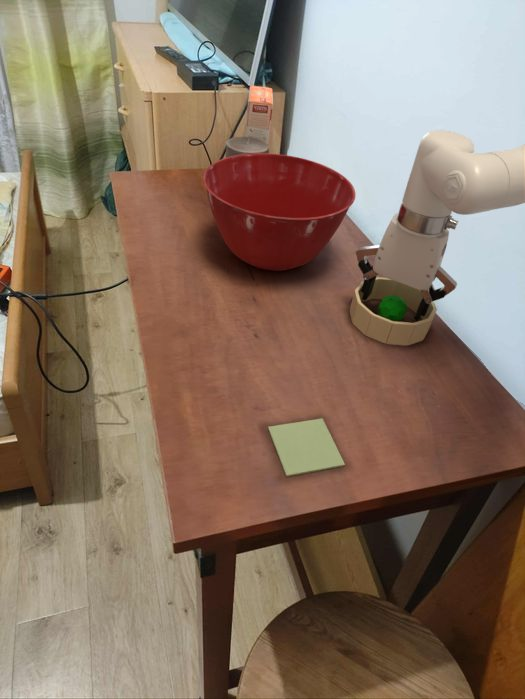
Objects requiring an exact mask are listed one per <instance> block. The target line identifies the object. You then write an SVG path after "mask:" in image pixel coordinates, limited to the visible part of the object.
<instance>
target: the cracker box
mask: <svg viewBox="0 0 525 699" xmlns="http://www.w3.org/2000/svg"><path fill="white" fill-rule="evenodd" d="M246 106H247V107H246V116H245V117H246V118H245V128H244V137H251V138H256V139H260V140H262V141H264V142H266V143H267V144H268V145H269V140H270V132H271V123H272V116H273V107H274V98H273V88H271V87H268V86H256V85H249V91H248V98H247V105H246Z"/></svg>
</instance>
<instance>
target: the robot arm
mask: <svg viewBox="0 0 525 699" xmlns="http://www.w3.org/2000/svg"><path fill="white" fill-rule="evenodd" d="M402 196H403V197H402V200H401V203H400V206H399V209H398V212H396V213H395V214H394V215H393V216H392V218H391V220H390V221H389V223H388V226H387V227H386V229H385V232H384V233H383V235H382V239H381V241H380V244H377V245H367V246H359V247H358V248H357V249H356V250H355V255H356V260H357V262H358V263H357V266H358V268H359V271H361V273H362V278H363V281H364V283H363V286H362V290H361V292H363V293H364V294H363V297H362V299H363V300H367V298H368V297H369V296H370V294H371V292H372V289H373V286H374V283H375V280H376V277H377V276H380V277H382V278H388V279H391V280H393V281H396V282H399V283H401V284H404V285H407V286H409V287H412V288H415V289H418V290H420V291H421V293H422V296H423V299H422V300H421V302H420V304H419V307H418V310H417V312H416V313H415V314H414V317H413V320H414V321H415V322H418V321H420V320H419V319H421V317H420V316H421V315H422V316H425V315H426V312H427V310H428V308H429V305H430V303H432V302H436V301H438V300H441V299H444V298H445V297H446V296H447V295H449V294H450V293H452V292H453V291H455V289H456V288H457V286H458V283H457V280H455V279H454V278H453V277H452V276H451V275H450V274H449V273H448V272H447V271H446V270H445V269H444V268H443V267H442V266H441V265H442V262H443V259H444V257H445V253H446V249H447V246H448V242H449V235H450V229H451V230H456V229H457V227H458V224H459V220H456V219H455V218H454V217H453V215H452V214H453V213H455V214H457V215H463V216H469V215H476V214H482V213H485V212H491V211H494V210H498V209H505V208H511V207H516V206H519V205H522V204H525V144H522V145H520V146H517V147H515V148H513V149H506V150H505V149H504V150H497V151H489V152H488V151H487V152H475V145H474V142H473V141H472V140H471V139H470V138H468V137H467V136H465V135H463V134H461V133H457V132H455V131H451V130H445V129H438V130H436V129H435V130H431V131H428V132H426V133H425V134H424V135H423V136H422V138H421V139H420V142H419V144H418V149H417V151H416V154H415V158H414V161H413V164H412V168H411V171H410V173H409V177H408V180H407V184H406V186H405V190H404V193H403V195H402ZM367 256H374V258H373V264H372V265H371V263H370V262H369V260H368V257H367ZM436 279H437V280H439V281H440V283H442V284H443V286H442V287H439V288H437V289H435V287H434V284H433V282H434V281H435V280H436ZM367 301H368V300H367Z"/></svg>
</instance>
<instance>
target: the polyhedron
mask: <svg viewBox="0 0 525 699" xmlns="http://www.w3.org/2000/svg"><path fill="white" fill-rule="evenodd" d="M407 312H408V307H407V305H406V303H405V301H404V300H403V299H402V298H401V297H399V296H393V295H389V296H386V297H384V298H383V299H381V301H380V302H379V304H378V306H377V315H379V316H381V317H384V318H386V319H389V320H391V321H395V322H402V321H403V319H404V317H405V316H406V314H407Z"/></svg>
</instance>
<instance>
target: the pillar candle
mask: <svg viewBox="0 0 525 699" xmlns="http://www.w3.org/2000/svg"><path fill="white" fill-rule="evenodd" d="M225 145H226V147H225V158H227V157H231V156H235V155H242V154H252V153H269V154H270V145H269V143H268V144H267V143H266V142H264V141H262V140H260V139H256V138H251V137H245V136H235V137H231V138H229V139H227V140H226V141H225Z"/></svg>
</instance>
